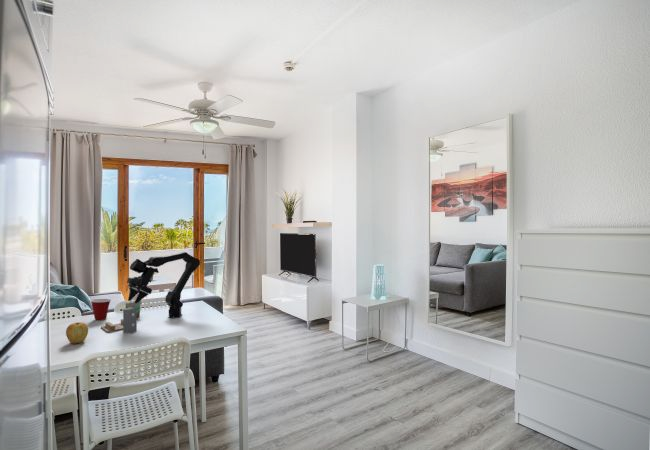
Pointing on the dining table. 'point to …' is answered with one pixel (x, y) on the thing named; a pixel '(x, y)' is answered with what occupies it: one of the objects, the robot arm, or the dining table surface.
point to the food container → (134, 306)
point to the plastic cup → (100, 308)
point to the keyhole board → (117, 326)
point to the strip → (129, 320)
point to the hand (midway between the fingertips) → (132, 301)
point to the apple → (77, 332)
